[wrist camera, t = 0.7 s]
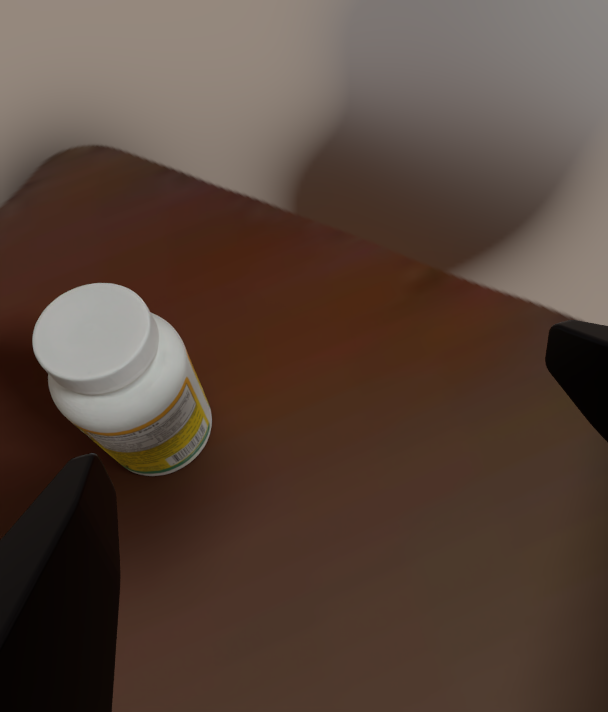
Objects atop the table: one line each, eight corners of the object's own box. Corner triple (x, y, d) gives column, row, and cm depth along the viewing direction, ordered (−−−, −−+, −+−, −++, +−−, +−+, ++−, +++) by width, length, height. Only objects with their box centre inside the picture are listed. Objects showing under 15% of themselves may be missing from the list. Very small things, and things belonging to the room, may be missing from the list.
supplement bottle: (212, 475, 24) (163, 397, 15) (102, 481, 24) (-8, 406, 15) (214, 376, 26) (174, 263, 18) (115, 382, 26) (27, 270, 18)
